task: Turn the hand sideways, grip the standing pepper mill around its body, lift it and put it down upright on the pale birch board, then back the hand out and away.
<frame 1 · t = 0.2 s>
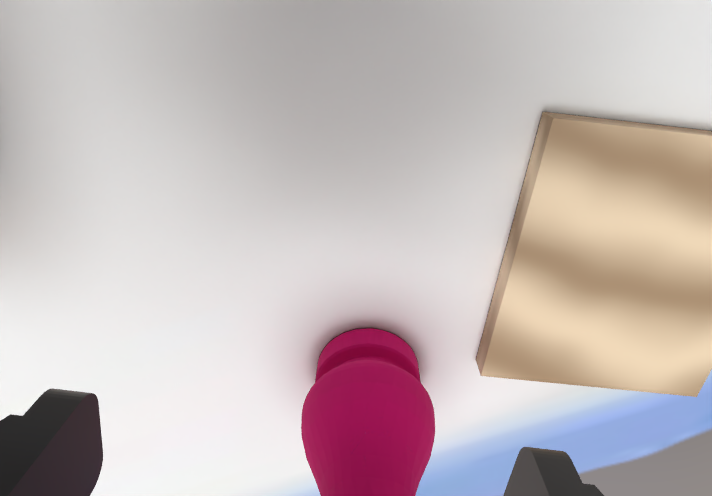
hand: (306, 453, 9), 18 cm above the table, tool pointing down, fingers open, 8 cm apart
birch board: (621, 262, 27), on the table
pepper mill: (367, 366, 31), on the table
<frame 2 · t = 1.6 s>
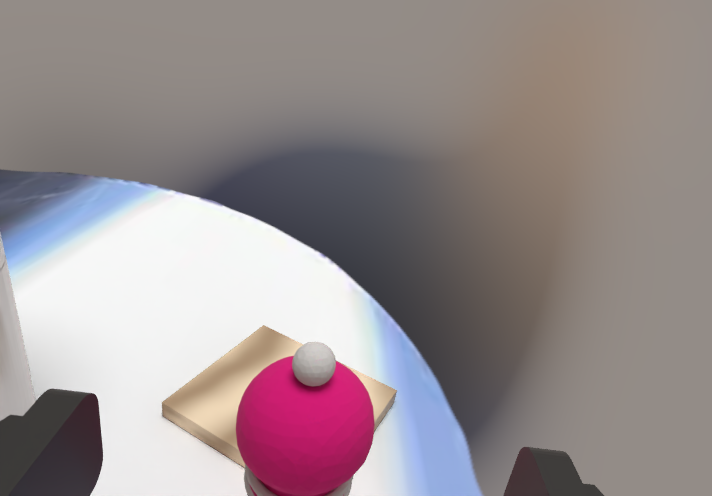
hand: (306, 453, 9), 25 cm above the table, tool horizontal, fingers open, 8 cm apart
birch board: (285, 408, 43), on the table
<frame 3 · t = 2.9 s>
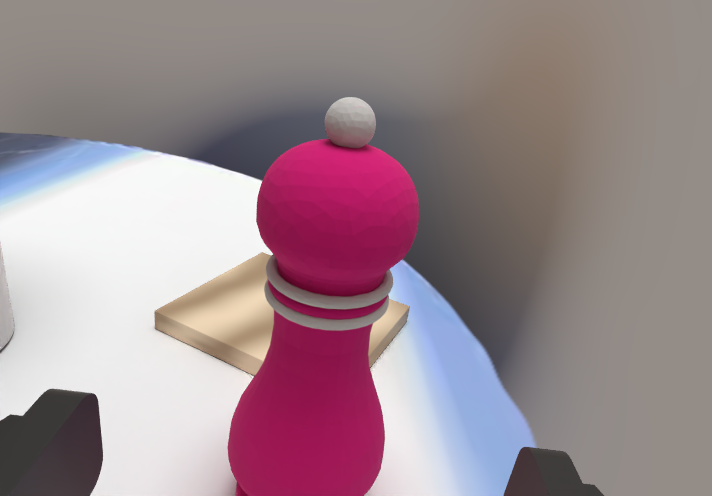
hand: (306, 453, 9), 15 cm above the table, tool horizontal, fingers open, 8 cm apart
birch board: (290, 324, 39), on the table
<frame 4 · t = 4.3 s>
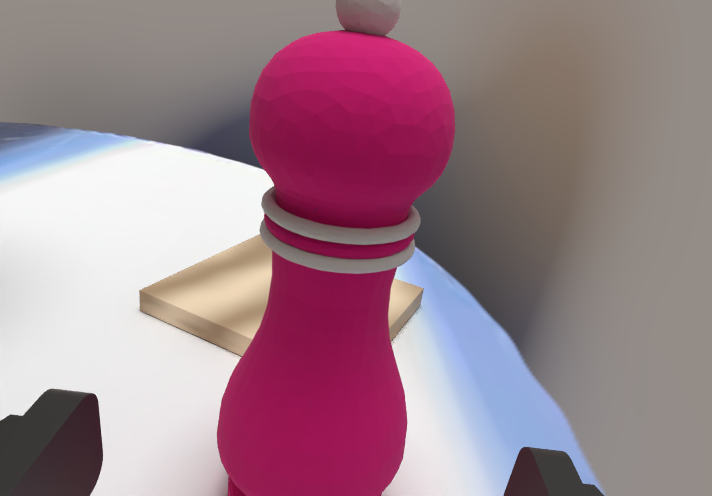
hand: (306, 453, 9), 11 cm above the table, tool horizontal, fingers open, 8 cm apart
birch board: (291, 307, 35), on the table
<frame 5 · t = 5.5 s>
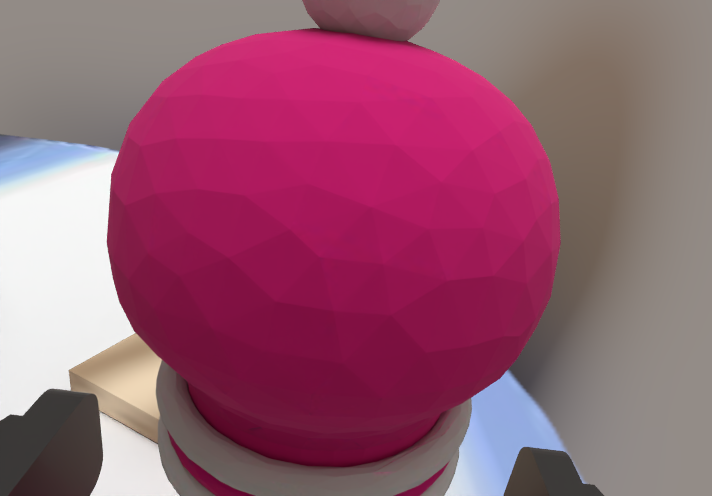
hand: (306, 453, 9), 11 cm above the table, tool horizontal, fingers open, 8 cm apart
birch board: (270, 382, 28), on the table
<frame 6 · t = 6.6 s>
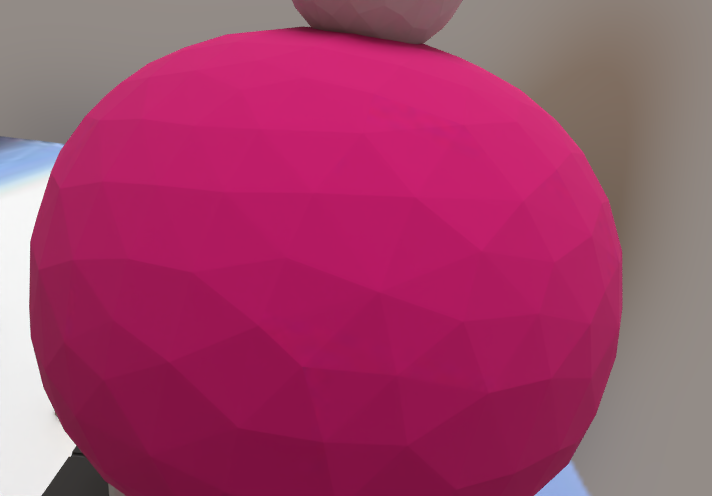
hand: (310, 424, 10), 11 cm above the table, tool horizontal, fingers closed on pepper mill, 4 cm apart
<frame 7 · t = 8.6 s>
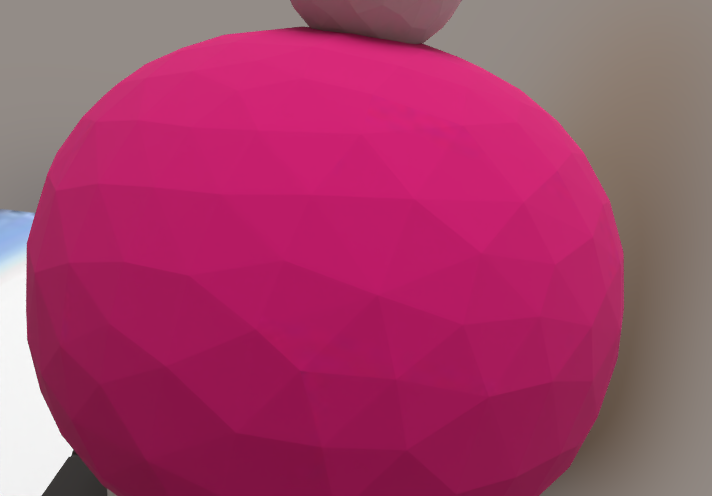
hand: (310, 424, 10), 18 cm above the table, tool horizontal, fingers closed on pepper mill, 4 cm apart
when the fingers open (13 cm above the table, at t = 10.7 s): pepper mill moves 3 cm, resting on birch board.
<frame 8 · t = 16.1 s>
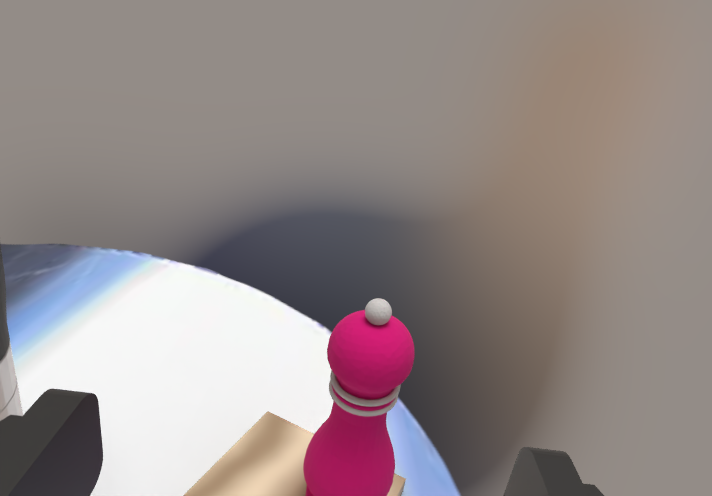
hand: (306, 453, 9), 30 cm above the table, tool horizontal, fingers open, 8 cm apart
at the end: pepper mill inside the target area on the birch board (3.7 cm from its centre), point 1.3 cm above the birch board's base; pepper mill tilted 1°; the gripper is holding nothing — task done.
